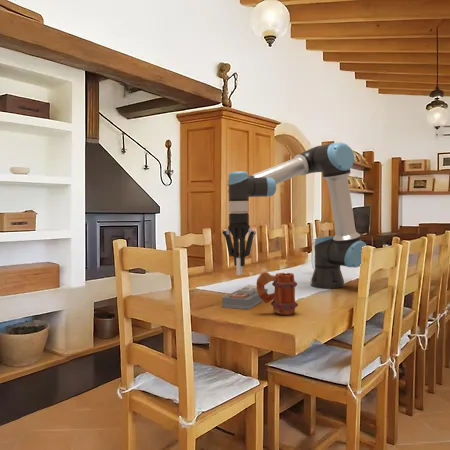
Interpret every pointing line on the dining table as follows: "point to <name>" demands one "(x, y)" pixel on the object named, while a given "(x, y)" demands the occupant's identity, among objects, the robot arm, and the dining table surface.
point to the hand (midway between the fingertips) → (239, 274)
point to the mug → (279, 292)
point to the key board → (241, 301)
